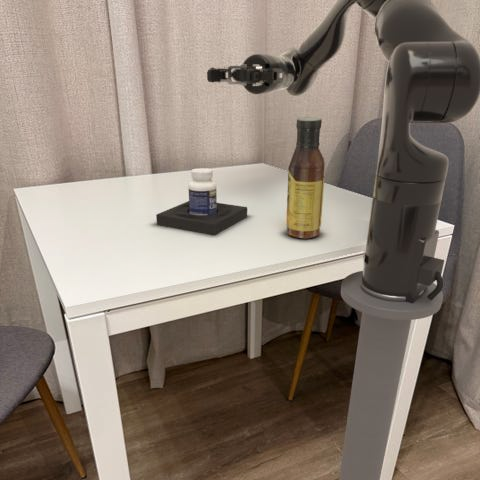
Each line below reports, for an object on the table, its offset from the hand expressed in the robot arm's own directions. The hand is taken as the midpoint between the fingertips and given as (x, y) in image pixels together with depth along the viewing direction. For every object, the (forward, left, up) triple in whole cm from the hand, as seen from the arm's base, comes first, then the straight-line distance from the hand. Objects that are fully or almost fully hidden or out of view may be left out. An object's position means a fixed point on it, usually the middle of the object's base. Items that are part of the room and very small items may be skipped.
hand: (228, 76), depth 92 cm
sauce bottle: (-22, +6, -26) cm, 34 cm away
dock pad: (-2, +11, -25) cm, 28 cm away
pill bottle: (-2, +11, -26) cm, 28 cm away
